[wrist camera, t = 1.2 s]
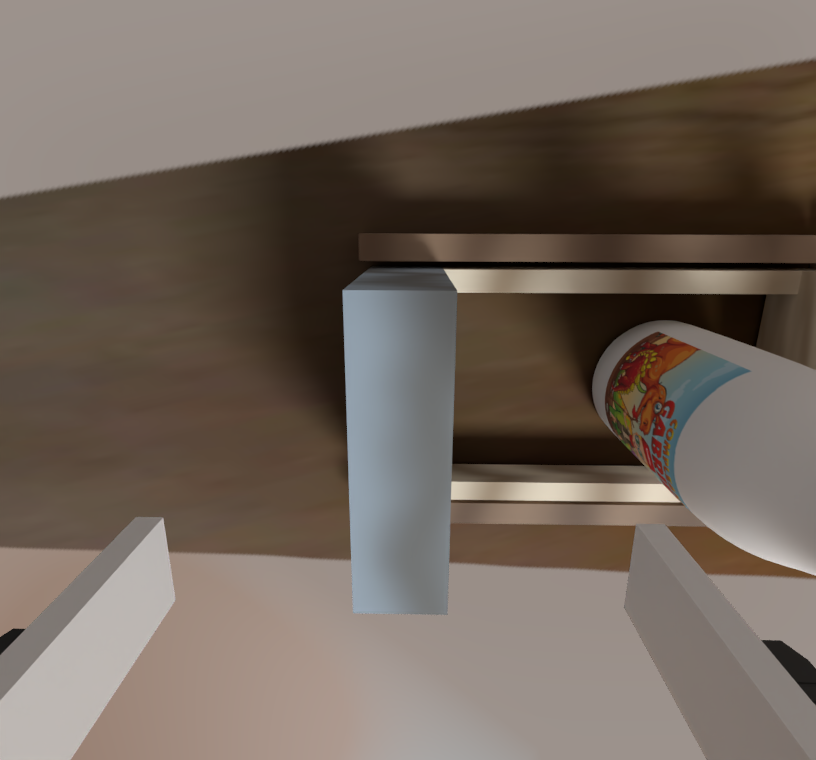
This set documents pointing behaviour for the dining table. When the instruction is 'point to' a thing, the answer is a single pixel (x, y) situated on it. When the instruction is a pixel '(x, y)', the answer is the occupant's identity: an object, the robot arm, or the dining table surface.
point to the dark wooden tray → (583, 250)
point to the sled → (434, 407)
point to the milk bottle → (719, 432)
